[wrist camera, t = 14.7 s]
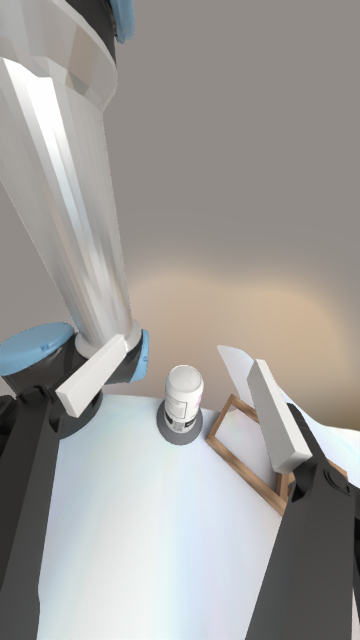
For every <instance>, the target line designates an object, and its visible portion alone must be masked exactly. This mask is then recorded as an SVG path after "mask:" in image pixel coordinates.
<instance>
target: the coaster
mask: <svg viewBox="0 0 360 640" xmlns="http://www.w3.org/2000/svg"><path fill="white" fill-rule="evenodd" d="M164 416H165V400H164V401H163V402H162V404H161V405H160V407H159V409H158V413H157V424H158V428H159V431H160V433H161V434H162V436H163V437H164V438H165V439H166V440H167V441H169V442H170V443H172V444H175V445H186V444H189V443H191V442H192V441H194V440H195V439H196V438H197V436H198V435H199V433H200V431H201V428H202V423H203V418H202V412H201V410H200V407H199V408H198V412H197V416H196V421H195V424H194V426H193V427H192V429H191V430H189V431H188V432H186V433H181V434H180V433H176V432H174V431H172V430H171V429H169V427H168V426H167V424H166V421H165V418H164Z"/></svg>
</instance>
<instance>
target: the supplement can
mask: <svg viewBox="0 0 360 640" xmlns="http://www.w3.org/2000/svg"><path fill="white" fill-rule="evenodd" d="M203 386H204V385H203V380H202V378H201V375H200V373H199V372H198V371H197V370H196V369H195V368H193V367H191V366H188V365H179V366H177V367H174V368H173V369H172V370H171V372H170V373H169V374H168V376H167V378H166V390H165V416H164V418H165V421H166V424H167V426H168V427H169V429H171V430H172V431H174V432H176V433H180V434H181V433H186V432H188V431H189V430H191V429H192V427H193V426H194V424H195V421H196V416H197V412H198V408H199V403H200V400H201V396H202V391H203Z"/></svg>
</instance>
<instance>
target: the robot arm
mask: <svg viewBox="0 0 360 640" xmlns="http://www.w3.org/2000/svg"><path fill="white" fill-rule="evenodd" d="M134 32H135V20H134V6H133V0H0V180H1V182H2V184H3V186H4V188H5V190H6V192H7V194H8V196H9V197H10V200H11V201H12V203H13V205H14V207H15V209H16V211H17V213H18V215H19V217H20V219H21V221H22V222H23V224H24V226H25V228H26V230H27V232H28V234H29V236H30V238H31V240H32V241H33V244H34V245H35V247H36V249H37V251H38V253H39V255H40V257H41V259H42V261H43V262H44V265H45V266H46V268H47V270H48V272H49V274H50V276H51V278H52V280H53V282H54V284H55V286H56V288H57V289H58V291H59V293H60V295H61V297H62V299H63V301H64V303H65V305H66V307H67V309H68V310H69V312H70V314H71V316H72V318H73V320H74V322H75V324H76V326H77V327H78V330H79V332H74V328H73V327H72V326H71V325H70V324H68V323H64V322H56V323H49V324H44V325H40V326H37V327H34V328H30V329H28V330H25V331H23V332H20V333H18V334H16V335H14V336H12V337H10V338H9V339H7V340H5V341H4V342H3V343H2V344H0V376H2V378H3V379H4V380H5V381H6V383H7V384H8V385H9V386H10V387H11V389H12V390H13V391H14V392H15V394H16V395H17V396H16V400H14V398H13V397H12V396H10V395H4V396H0V640H36V639H37V632H38V624H39V614H40V602H39V596H38V583H39V576H40V569H41V563H42V556H43V549H44V542H45V535H46V529H47V522H48V515H49V508H50V502H51V495H52V488H53V481H54V475H55V468H56V461H57V454H58V447H59V441H60V439H63V438H66V437H68V436H70V435H72V434H73V433H75V432H77V431H78V430H80V429H81V428H82V427H83V426H85V425H86V424H87V423H88V422H89V421H90V420H91V419H92V418H93V416H94V415H95V414H96V412H97V411H98V409H99V407H100V405H101V402H102V397H103V394H102V389H101V387H102V386H103V385H106V384H116V383H123V382H124V383H125V382H126V383H130V382H133V381H139V380H142V379H143V378H144V377H145V375H146V372H147V365H148V352H149V333H148V331H147V330H143V329H141V327H140V325H139V323H138V322H137V321H136V320H135V319H133V318H132V317H131V310H130V303H129V296H128V289H127V282H126V276H125V269H124V263H123V255H122V249H121V242H120V235H119V228H118V222H117V215H116V209H115V201H114V194H113V187H112V182H111V174H110V167H109V160H108V154H107V147H106V140H105V133H104V127H103V120H102V117H103V113H104V109H105V108H106V106H107V104H108V103H109V101H110V100H111V98H112V96H113V95H114V93H115V91H116V90H117V85H118V78H117V68H116V57H115V47H114V36H115V38H116V40H117V41H118V42H119V43H121V44H124V42H125V40H130V39H132V37H133V36H134ZM247 382H248V385H249V389H250V392H251V396H252V399H253V402H254V406H255V409H256V413H257V416H258V419H259V423H260V426H261V430H262V433H263V437H264V440H265V443H266V447H267V450H268V454H269V457H270V460H271V464H272V467H273V471H274V472H278V473H282V474H285V475H288V474H290V473H291V472H293V474H294V477H295V480H294V481H292V482H291V483H290V484H289V485H288V486H287V487H288V488H289V489H290V488H291V487H292V488H291V492H290V495H289V498H288V501H287V505H286V508H285V511H284V514H283V518H282V521H281V524H280V527H279V531H278V534H277V537H276V540H275V544H274V547H273V550H272V553H271V556H270V560H269V563H268V566H267V569H266V573H265V576H264V579H263V582H262V586H261V589H260V592H259V595H258V599H257V602H256V605H255V608H254V612H253V615H252V618H251V621H250V625H249V628H248V631H247V634H246V638H245V640H351V634H352V595H353V589H354V595H355V601H356V606H357V612H358V617H359V623H360V489H359V488H358V487H356V486H354V485H352V484H351V483H349V482H348V481H347V480H346V478H345V477H344V476H343V475H342V474H341V473H340V472H339V471H338V470H337V469H336V468H334V467H333V466H331V465H330V463H329V462H328V460H327V458H326V457H325V455H324V453H323V451H322V450H321V448H320V446H319V444H318V443H317V441H316V439H315V437H314V435H313V434H312V432H311V430H310V428H309V427H308V425H307V423H306V422H305V419H304V418H303V416H302V414H301V412H300V411H299V410H298V409H297V408H296V407H295V406H294V405H293V404H290V403H286V402H285V400H284V398H283V396H282V394H281V392H280V390H279V388H278V386H277V384H276V382H275V380H274V378H273V376H272V374H271V372H270V370H269V368H268V366H267V364H266V362H265V361H264V360H260V359H255V362H254V364H253V366H252V368H251V370H250V373H249V375H248V377H247Z"/></svg>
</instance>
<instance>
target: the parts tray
mask: <svg viewBox="0 0 360 640" xmlns="http://www.w3.org/2000/svg"><path fill="white" fill-rule="evenodd" d="M231 404H233V405H234V406H235V407H237V408H238V409H239V410H241V411H242V412H244V413H245V414H246V415H248V416H249V417H251V418H252V419H253V420H255V421H256V422H257V423H259V419H258V416H257V413H256V410H255V409H253V408H252V407H250V406H249V405H247V404H246V403H244V402H243V401H241V400H240V399H238V398H237V397H235V396H234V395H232V394H231V396H230V398H229V399H228V401H227V403H226V405H225V406H224V408H223V410H222V412H221V414H220V415H219V417H218V419H217V421H216V422H215V424H214V426H213V428H212V430H211V431H210V433H209V435H208V437H207V439H206V443H207V444H208V445H210V446H211V447H212V448H213V449H214V450H215V451H216V452H217V453H218V454H219V455H220V456H221V457H222V458H223V459H224V460H225V461H226V462H227V463H228V464H229V465H230V466H231V467H232V468H233V469H234V470H235V471H236V472H237V473H238V474H239V475H240V476H241V477H242V478H243V479H244V480H245V481H246V482H247V483H248V484H249V485H250V486H251V487H252V488H253V489H254V490H255V491H256V492H257V493H259V494H260V495H261V496H262V497H263V498H264V499H265V500H266V501H267V502H268V503H269V504H270V505H271V506H272V507H273V508H274V509H275V510H276V511H277V512H278V513H279V514H280V515H281V516H282V517H283V514H284V511H285V508H286V505H287V501H288V498H289V495H290V492H291V488H292V487H291V488H290V489H289V488H288V487H287V486H288V485H289V484H290V483H291V482H292V481H294V480H295V477H294V474H293V472H291V473H290V474H288V475H285V474H282V473H278V476H277V484H276V491H275V492H274V491H272V490H271V489H270V488H269V487H268V486H267V485H266V484H265V483H264V482H263V481H262V480H261V479H259V478H258V477H257V476H256V475H255V474H254V473H253V472H252V471H251V470H250V469H249V468H247V467H246V466H245V465H244V464H243V463H242V462H241V461H240V460H239V459H238V458H237V457H236V456H234V455H233V454H232V453H231V452H230V451H229V450H228V449H227V448H226V447H225V446H224V445H223V444H221V443H220V442H219V441H218V440H217V439H216V438H215V437H214V436H215V434H216V432H217V430H218V428H219V426H220V424H221V422H222V421H223V419H224V417H225V415H226V413H227V411H228V409H229V407H230V405H231ZM259 424H260V423H259ZM327 460H328V459H327ZM328 462H329V463H330V465H331V466H333V467H334V468H336V469H337V470H338V471H339V472H340V473H341V474H342V475H343V476H344V477H345V478H346V480H347V481H348V477H347V472H346V471H345V470H343V469H342V468H340V467H339V466H337V465H336V464H334V463H333V462H331V461H330V460H328Z"/></svg>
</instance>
